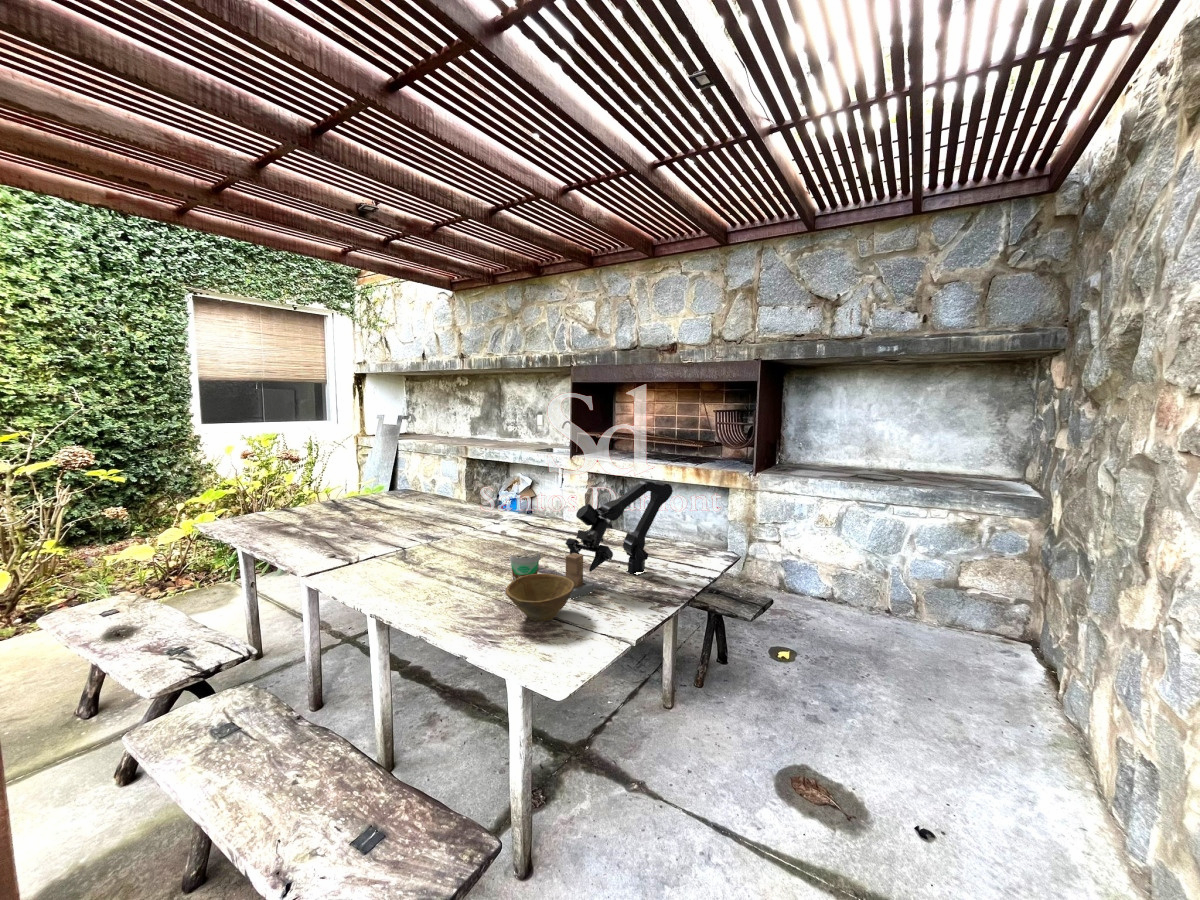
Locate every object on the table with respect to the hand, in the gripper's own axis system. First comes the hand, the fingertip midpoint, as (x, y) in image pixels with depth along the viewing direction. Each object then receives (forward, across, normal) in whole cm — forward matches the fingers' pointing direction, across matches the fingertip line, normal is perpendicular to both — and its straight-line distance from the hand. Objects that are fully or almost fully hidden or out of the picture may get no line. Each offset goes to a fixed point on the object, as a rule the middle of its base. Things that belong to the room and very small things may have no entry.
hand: (579, 568), depth 181 cm
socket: (+8, 0, +3) cm, 8 cm away
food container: (+10, -22, +2) cm, 24 cm away
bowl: (+23, +2, -12) cm, 26 cm away
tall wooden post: (+7, 0, +3) cm, 8 cm away
